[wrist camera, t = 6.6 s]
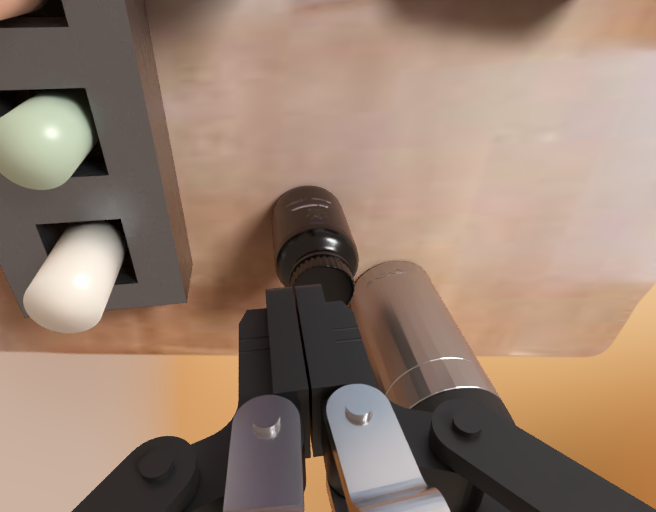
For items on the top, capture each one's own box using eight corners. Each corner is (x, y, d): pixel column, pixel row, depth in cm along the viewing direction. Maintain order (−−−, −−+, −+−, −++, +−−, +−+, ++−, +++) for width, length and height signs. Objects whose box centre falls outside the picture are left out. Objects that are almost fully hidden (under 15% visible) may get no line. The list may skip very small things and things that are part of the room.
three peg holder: (192, 264, 45) (186, 302, 40) (49, 276, 43) (24, 317, 38) (117, -139, 28) (91, -159, 23) (-119, -147, 27) (-201, -172, 22)
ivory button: (132, 266, 39) (110, 329, 32) (72, 271, 38) (37, 336, 32) (119, 215, 36) (92, 273, 30) (54, 220, 36) (11, 280, 29)
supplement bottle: (312, 168, 41) (335, 234, 31) (355, 218, 45) (387, 292, 35) (254, 213, 43) (259, 291, 33) (300, 258, 46) (317, 340, 36)
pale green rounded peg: (112, 145, 36) (84, 187, 29) (47, 148, 35) (3, 192, 29) (96, 81, 34) (61, 112, 27) (25, 83, 33) (-29, 115, 26)
